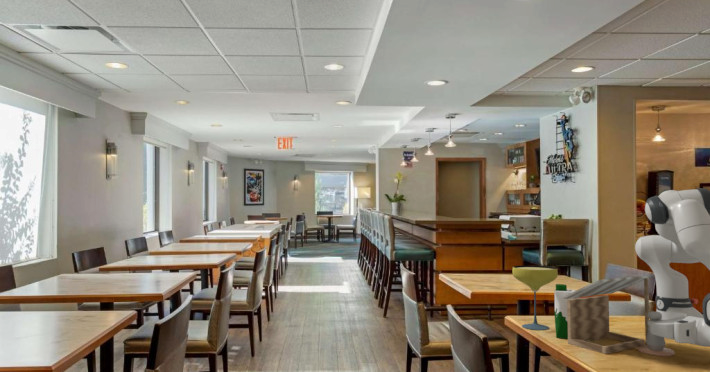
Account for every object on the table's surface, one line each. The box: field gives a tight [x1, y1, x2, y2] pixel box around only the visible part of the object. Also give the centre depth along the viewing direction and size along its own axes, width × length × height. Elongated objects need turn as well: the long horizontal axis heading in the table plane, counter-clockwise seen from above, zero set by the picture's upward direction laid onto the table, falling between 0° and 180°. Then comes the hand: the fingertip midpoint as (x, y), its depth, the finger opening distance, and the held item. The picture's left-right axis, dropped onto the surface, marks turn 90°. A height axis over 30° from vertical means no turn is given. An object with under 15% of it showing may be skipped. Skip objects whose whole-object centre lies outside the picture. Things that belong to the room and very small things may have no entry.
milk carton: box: [554, 283, 581, 340], centre depth 197 cm, size 9×9×20 cm
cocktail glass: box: [512, 264, 559, 331], centre depth 214 cm, size 18×18×25 cm
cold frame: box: [563, 274, 650, 355], centre depth 186 cm, size 28×16×25 cm, turn 118°
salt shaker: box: [645, 310, 666, 351], centre depth 176 cm, size 6×6×13 cm
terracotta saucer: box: [637, 344, 675, 357], centre depth 176 cm, size 11×11×1 cm
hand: (652, 322), depth 178 cm, fingers closed on salt shaker, 3 cm apart
